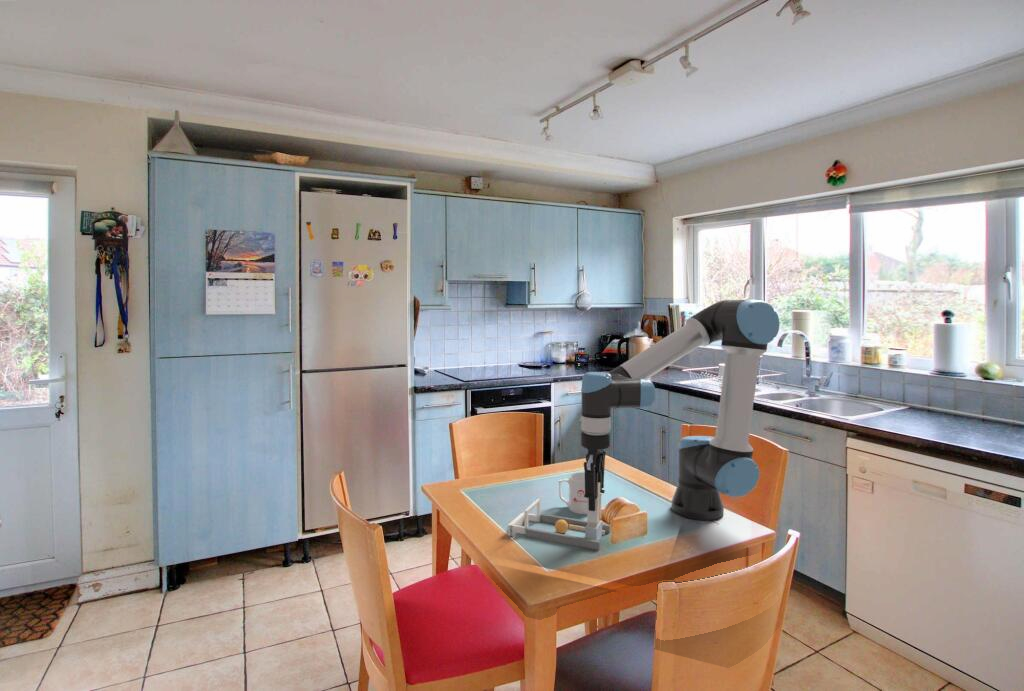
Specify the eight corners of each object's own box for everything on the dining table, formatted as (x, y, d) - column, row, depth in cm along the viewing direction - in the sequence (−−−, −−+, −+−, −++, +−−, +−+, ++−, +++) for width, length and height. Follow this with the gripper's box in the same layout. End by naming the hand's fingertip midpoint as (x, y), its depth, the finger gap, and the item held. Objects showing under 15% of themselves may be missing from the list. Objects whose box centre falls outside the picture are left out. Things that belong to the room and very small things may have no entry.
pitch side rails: (610, 536, 148) (610, 524, 148) (599, 554, 138) (599, 542, 137) (541, 524, 156) (541, 513, 156) (525, 540, 146) (525, 529, 145)
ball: (569, 531, 149) (570, 518, 148) (565, 536, 145) (565, 523, 145) (557, 529, 150) (557, 516, 150) (552, 534, 147) (553, 521, 147)
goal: (540, 525, 156) (540, 498, 155) (527, 539, 146) (527, 510, 146) (522, 522, 158) (522, 495, 157) (508, 535, 149) (508, 507, 148)
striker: (602, 535, 146) (603, 480, 145) (596, 544, 141) (597, 487, 140) (591, 533, 147) (592, 478, 146) (585, 541, 142) (586, 485, 141)
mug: (599, 509, 168) (600, 473, 167) (596, 520, 160) (596, 482, 159) (561, 505, 171) (561, 470, 171) (556, 515, 163) (556, 479, 162)
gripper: (589, 424, 150) (588, 507, 152) (572, 436, 136) (571, 528, 138) (616, 427, 147) (614, 511, 149) (602, 440, 133) (600, 533, 135)
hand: (594, 519), depth 144 cm, fingers closed on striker, 2 cm apart
